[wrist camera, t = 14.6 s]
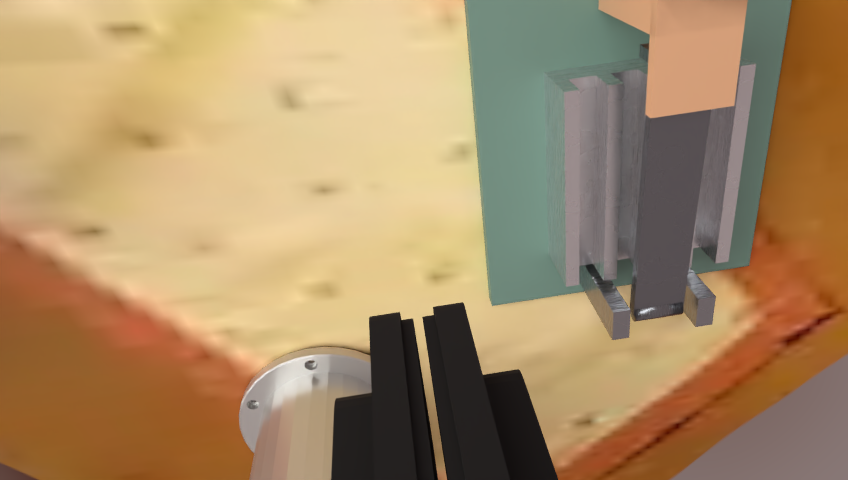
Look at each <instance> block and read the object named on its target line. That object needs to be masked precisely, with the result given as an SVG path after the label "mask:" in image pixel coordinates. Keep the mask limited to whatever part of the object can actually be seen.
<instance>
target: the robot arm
mask: <svg viewBox="0 0 848 480" xmlns="http://www.w3.org/2000/svg"><path fill="white" fill-rule="evenodd" d="M433 311H434V315H432V316H425V317H423V323H424V330H425V337H426V343H427V350H428V357H429V363H430V370H431V376H432V383H433V390H434V396H435V403H436V410H437V416H438V423H439V429H440V436H441V442H442V449H443V455H444V462H445V468H446V474H447V480H558V478H557V475H556V472H555V469H554V466H553V463H552V460H551V457H550V454H549V452H548V449H547V446H546V443H545V440H544V437H543V434H542V431H541V428H540V425H539V422H538V420H537V417H536V414H535V411H534V408H533V405H532V402H531V399H530V396H529V393H528V390H527V388H526V385H525V382H524V379H523V376H522V374H521V372H520V370H519V369H518V370H511V371H505V372H499V373H492V374H486V375H482V371H481V367H480V363H479V360H478V356H477V352H476V348H475V344H474V341H473V337H472V333H471V329H470V325H469V321H468V318H467V314H466V310H465V306H464V303H463V302H462V303H456V304H449V305H443V306H436V307H433ZM369 329H370V355H367V354H364V353H362V352H359V351H356V350H351V349H345V348H340V347H317V348H308V349H303V350H299V351H296V352H292V353H289V354H286V355H284V356H282V357H280V358H278V359H276V360H274V361H272V362H271V363H269V364H268V365H267V366H265V367H264V368H262V369H261V370H260V371H259V372H258V373H257V374H256V375H255V376H254V377H253V378H252V380H251V381H250V383H249V385H248V386H247V388H246V390H245V392H244V395H243V399H242V402H241V407H240V413H239V423H240V430H241V433H242V435H243V438H244V440H245V442H246V443H247V445H248V446H249V448H250V449H251V451H252V452H253V453H254V458H253V464H252V469H251V475H250V480H438V477H437V470H436V463H435V455H434V448H433V441H432V435H431V428H430V422H429V416H428V409H427V403H426V397H425V391H424V385H423V378H422V372H421V366H420V360H419V353H418V347H417V341H416V335H415V329H414V322H413V319H406V320H401V316H400V312H398V313H391V314H385V315H378V316H372V317H370V318H369Z"/></svg>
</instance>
